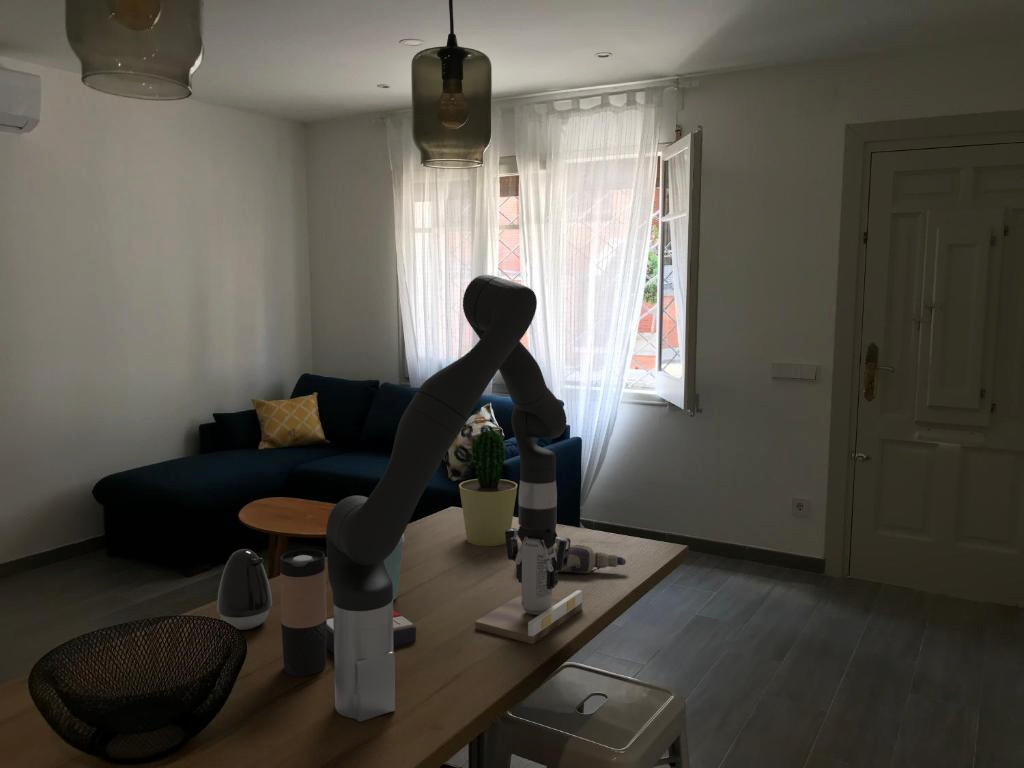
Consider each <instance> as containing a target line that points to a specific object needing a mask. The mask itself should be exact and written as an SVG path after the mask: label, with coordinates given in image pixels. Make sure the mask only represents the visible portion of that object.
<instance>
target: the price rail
mask: <svg viewBox="0 0 1024 768" xmlns="http://www.w3.org/2000/svg"><path fill="white" fill-rule="evenodd" d="M581 603H582V604H583V590H580V589H577V590H576V591H574V592H573V593H571V594H569V595H568V596H567V597H565V599H563V600H562V601H560V602H559V603H557V604H556V605H554V606H553V607H551V608H550V609H548V610H546V611H545V612H543V613H542V614H540V615H539V616H537V617H536V618H534V619H533V620H531V621H530V622H528V635H529V636H532V637H533V636H534V635H536V634H537V633H539V632H540V631H541V630H543V629H544V628H546V627H547V626H549V625H550V624H552V623H553V622H555V621H556V620H557V619H559V618H560V617H562V616H563V615H565V614H566V613H568V612H569V611H570V610H572V609H573V608H575V607H576V606H578V605H579V604H581Z"/></svg>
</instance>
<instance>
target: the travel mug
mask: <svg viewBox="0 0 1024 768" xmlns="http://www.w3.org/2000/svg"><path fill="white" fill-rule="evenodd" d="M279 560H280V561H279V562H280V564H279V565H280V566H279V567H280V622H281V623H280V625H281V639H282V641H281V642H282V654H283V655H282V657H283V669H284V672H285V673H286V674H288V675H290V676H292V677H293V676H294V677H305V676H306V677H308V676H312V675H316V674H318V673H320V672H322V671H323V670H324V669H326V665H327V646H326V635H327V616H328V615H327V586H326V585H327V583H326V582H327V581H326V556H325V553H324V552H323V551H320V550H319V549H312V548H311V549H309V548H304V549H296V550H290V551H288V552H285V553H283V554H282V555H281V556H280V558H279Z"/></svg>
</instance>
